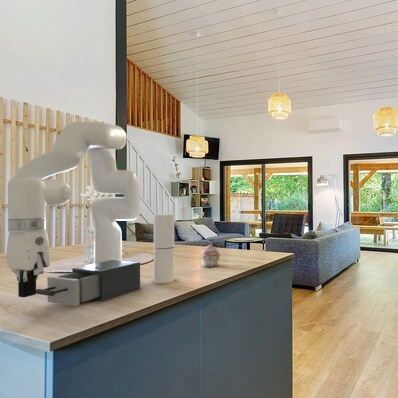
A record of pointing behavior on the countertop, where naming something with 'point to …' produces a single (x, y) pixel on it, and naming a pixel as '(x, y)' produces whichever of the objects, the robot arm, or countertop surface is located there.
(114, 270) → the cabinet
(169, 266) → the cylindrical container
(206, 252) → the cupcake
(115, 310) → the countertop surface
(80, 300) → the drawer
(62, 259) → the countertop surface
